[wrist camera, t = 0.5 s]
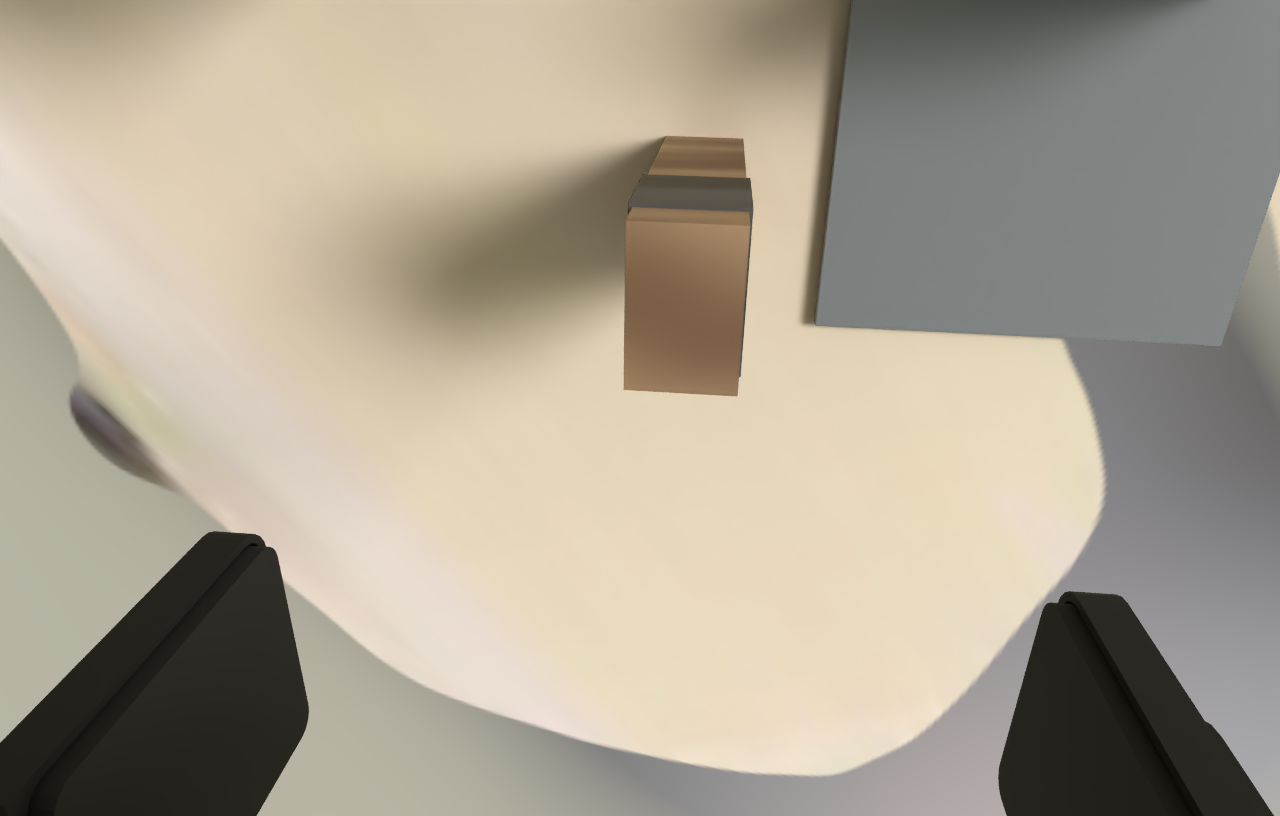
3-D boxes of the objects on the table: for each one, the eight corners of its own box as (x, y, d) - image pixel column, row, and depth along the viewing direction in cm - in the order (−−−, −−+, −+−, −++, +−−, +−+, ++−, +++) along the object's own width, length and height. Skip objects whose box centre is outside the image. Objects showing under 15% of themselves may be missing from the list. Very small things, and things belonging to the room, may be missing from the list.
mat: (865, -126, 29) (868, -129, 28) (1367, -122, 28) (1380, -124, 27) (814, 320, 36) (815, 325, 35) (1213, 340, 34) (1220, 345, 34)
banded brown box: (663, 133, 33) (621, 216, 21) (745, 136, 33) (754, 221, 20) (659, 251, 35) (620, 392, 23) (737, 255, 35) (740, 400, 22)
